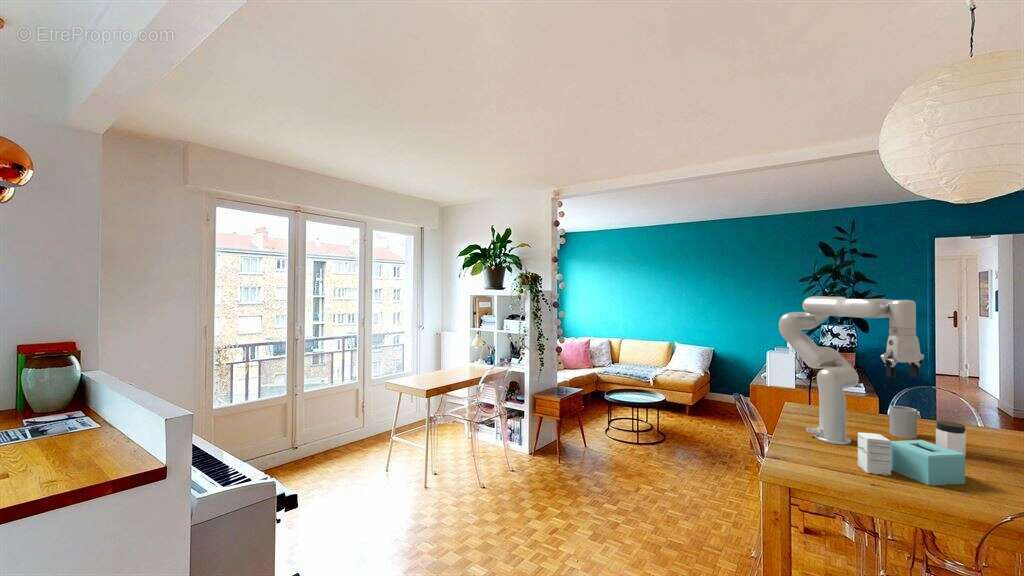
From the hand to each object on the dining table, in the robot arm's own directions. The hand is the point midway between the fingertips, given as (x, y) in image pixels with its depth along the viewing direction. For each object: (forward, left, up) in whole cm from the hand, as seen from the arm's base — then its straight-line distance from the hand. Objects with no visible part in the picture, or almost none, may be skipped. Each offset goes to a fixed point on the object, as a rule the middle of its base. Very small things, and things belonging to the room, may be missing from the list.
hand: (902, 377), depth 166 cm
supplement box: (-13, -15, -32) cm, 38 cm away
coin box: (+2, -13, -32) cm, 35 cm away
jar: (+21, +18, -32) cm, 43 cm away
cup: (+13, +39, -32) cm, 52 cm away
